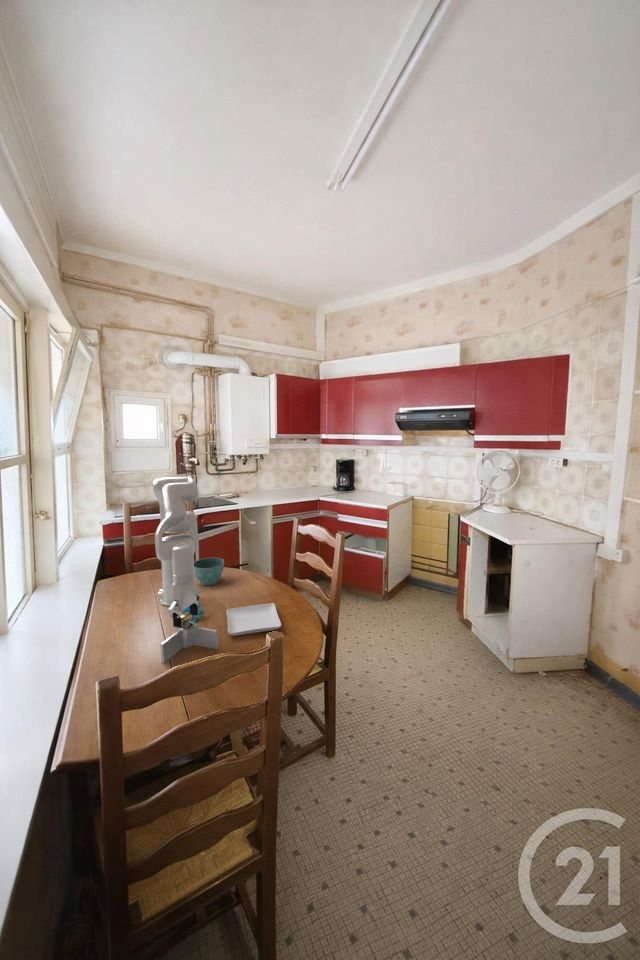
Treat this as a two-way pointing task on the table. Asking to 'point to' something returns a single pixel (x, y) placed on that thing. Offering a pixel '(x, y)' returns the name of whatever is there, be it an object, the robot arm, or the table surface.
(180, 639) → the hinge
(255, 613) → the salad plate
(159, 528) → the robot arm
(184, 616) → the pin
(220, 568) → the teal bowl
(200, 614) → the blue spiky piece
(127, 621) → the table surface
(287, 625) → the table surface
